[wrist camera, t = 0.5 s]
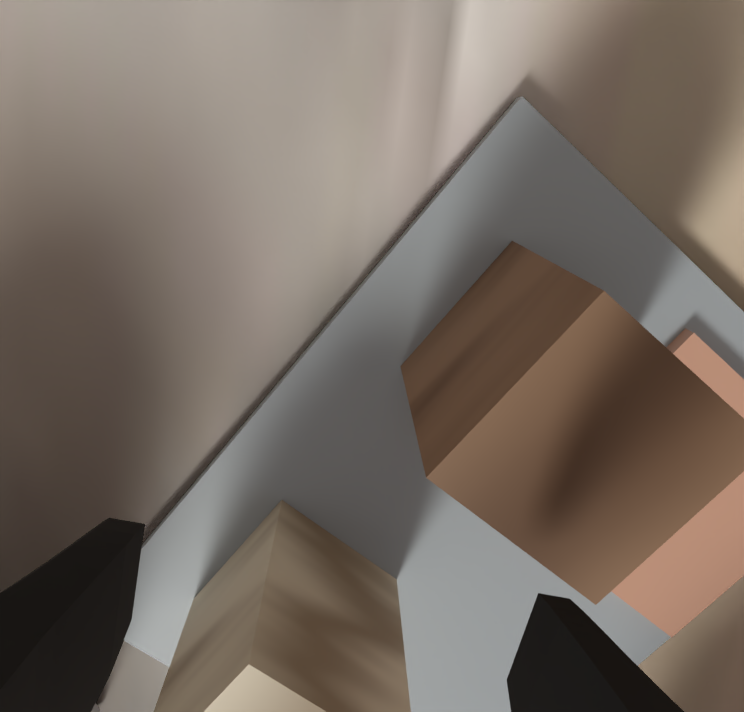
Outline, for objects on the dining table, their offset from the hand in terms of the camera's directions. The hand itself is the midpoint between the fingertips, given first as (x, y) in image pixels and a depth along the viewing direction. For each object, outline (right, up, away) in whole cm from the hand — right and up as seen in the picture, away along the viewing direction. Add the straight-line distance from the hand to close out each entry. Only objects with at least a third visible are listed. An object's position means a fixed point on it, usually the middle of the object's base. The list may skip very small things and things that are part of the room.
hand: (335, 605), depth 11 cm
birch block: (-2, -4, +11) cm, 11 cm away
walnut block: (+5, +5, +8) cm, 11 cm away
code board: (+4, -1, +11) cm, 12 cm away
